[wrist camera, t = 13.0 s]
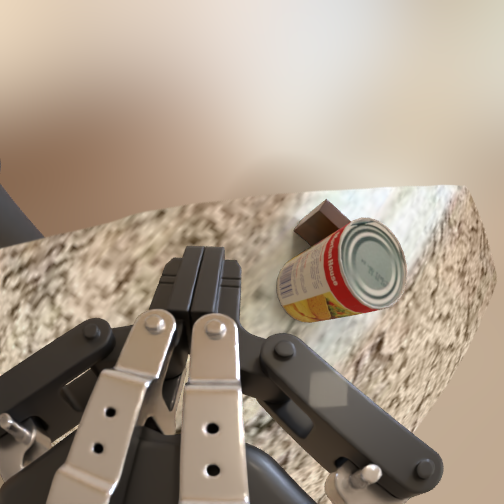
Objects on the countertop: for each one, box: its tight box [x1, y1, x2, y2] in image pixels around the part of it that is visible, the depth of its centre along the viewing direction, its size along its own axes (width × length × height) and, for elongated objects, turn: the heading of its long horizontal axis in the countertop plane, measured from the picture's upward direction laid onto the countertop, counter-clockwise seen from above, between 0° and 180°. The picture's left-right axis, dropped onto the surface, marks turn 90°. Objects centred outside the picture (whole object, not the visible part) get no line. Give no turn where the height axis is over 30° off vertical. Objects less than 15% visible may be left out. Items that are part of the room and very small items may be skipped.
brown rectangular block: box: [294, 199, 351, 246], centre depth 33 cm, size 10×2×6 cm, turn 55°
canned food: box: [277, 218, 407, 323], centre depth 27 cm, size 8×8×12 cm
